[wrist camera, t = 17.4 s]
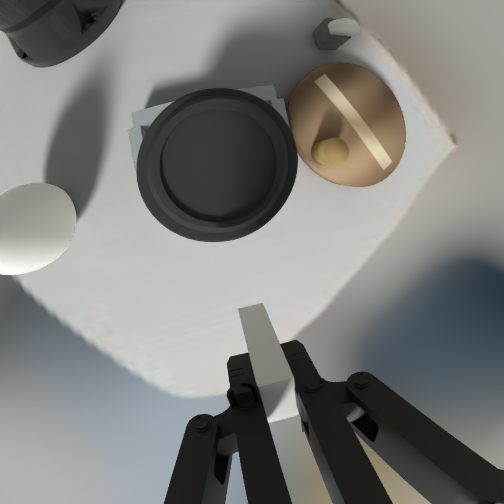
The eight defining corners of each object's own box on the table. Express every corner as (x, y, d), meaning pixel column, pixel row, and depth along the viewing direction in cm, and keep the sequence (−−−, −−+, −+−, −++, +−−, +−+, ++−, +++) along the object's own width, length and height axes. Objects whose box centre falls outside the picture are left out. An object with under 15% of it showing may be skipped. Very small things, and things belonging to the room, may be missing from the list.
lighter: (309, 32, 23) (331, 6, 17) (333, 34, 24) (359, 11, 18) (314, 48, 24) (338, 24, 18) (338, 49, 24) (366, 28, 18)
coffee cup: (154, 151, 25) (97, 130, 11) (234, 110, 25) (260, 49, 11) (195, 228, 28) (181, 284, 14) (272, 187, 28) (336, 203, 14)
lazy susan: (259, 113, 25) (271, 99, 20) (345, 49, 24) (367, 32, 19) (344, 211, 29) (369, 219, 24) (413, 139, 28) (442, 137, 23)
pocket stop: (135, 121, 24) (125, 114, 21) (271, 93, 25) (280, 84, 22) (144, 171, 26) (135, 171, 22) (281, 142, 27) (291, 138, 24)
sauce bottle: (87, 173, 25) (-35, 186, 7) (96, 244, 27) (-4, 325, 10) (34, 186, 24) (-82, 213, 6) (44, 251, 26) (-56, 320, 9)
